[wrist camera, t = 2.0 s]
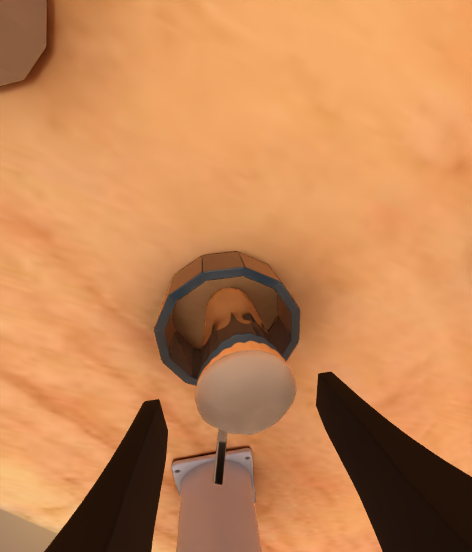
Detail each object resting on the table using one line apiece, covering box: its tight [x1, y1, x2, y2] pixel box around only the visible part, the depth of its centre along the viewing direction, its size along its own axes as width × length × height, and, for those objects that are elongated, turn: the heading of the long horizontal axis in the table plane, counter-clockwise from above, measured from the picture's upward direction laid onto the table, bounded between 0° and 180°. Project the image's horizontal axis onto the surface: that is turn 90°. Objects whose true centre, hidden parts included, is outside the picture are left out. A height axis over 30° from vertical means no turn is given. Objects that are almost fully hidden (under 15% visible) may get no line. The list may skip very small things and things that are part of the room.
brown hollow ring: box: [154, 251, 300, 386], centre depth 17 cm, size 9×9×3 cm
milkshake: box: [195, 288, 296, 485], centre depth 14 cm, size 4×5×10 cm
